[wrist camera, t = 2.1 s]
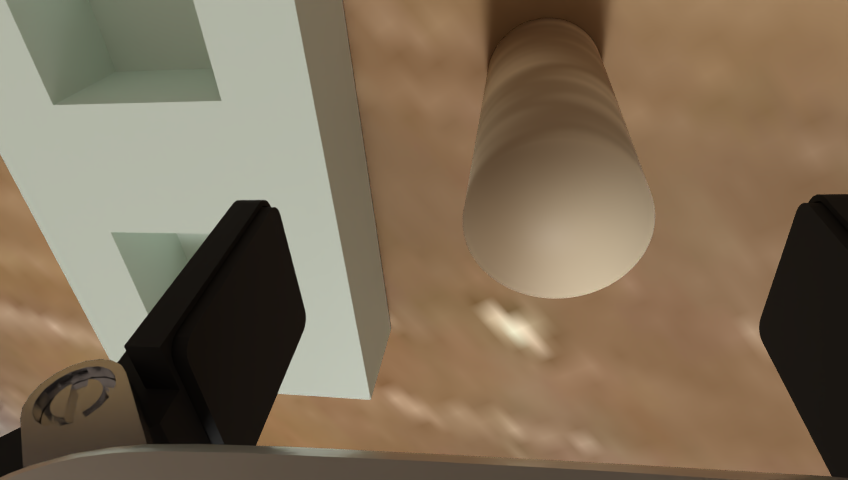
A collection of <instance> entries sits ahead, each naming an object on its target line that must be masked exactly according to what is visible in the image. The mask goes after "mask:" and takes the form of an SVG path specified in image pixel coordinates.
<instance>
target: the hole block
mask: <svg viewBox="0 0 848 480" xmlns="http://www.w3.org/2000/svg"><path fill="white" fill-rule="evenodd" d="M0 154H1V156H2V158H3V160H4V162H5V164H6V166H7V168H8V169H9V171H10V173H11V175H12V177H13V179H14V181H15V183H16V184H17V186H18V188H19V190H20V192H21V194H22V196H23V198H24V199H25V201H26V203H27V205H28V207H29V209H30V211H31V213H32V214H33V216H34V218H35V220H36V222H37V224H38V226H39V228H40V229H41V231H42V233H43V235H44V237H45V239H46V241H47V243H48V245H49V246H50V248H51V250H52V252H53V254H54V256H55V258H56V260H57V261H58V263H59V265H60V267H61V269H62V271H63V273H64V275H65V276H66V278H67V280H68V282H69V284H70V286H71V288H72V290H73V291H74V293H75V295H76V297H77V299H78V301H79V303H80V305H81V306H82V308H83V310H84V312H85V314H86V316H87V318H88V320H89V322H90V323H91V325H92V327H93V329H94V331H95V333H96V335H97V337H98V338H99V340H100V342H101V344H102V346H103V348H104V350H105V352H106V353H107V355H108V357H109V359H110V360H112V361H114V362H116V363H117V362H118V361H119V360H120V358H121V357H122V356H123V354H124V353H125V352H126V350H125V348H124V345H125V344H126V343H127V341H128V340H129V339H130V337H131V336H132V335H133V334H134V332H135V331H136V330H137V328H138V327H139V326H140V324H141V323H142V322H143V320H144V319H145V318H146V317H147V315H148V314H149V313H150V311H151V310H152V309H153V307H154V306H155V305H156V303H157V302H158V301H159V300H160V298H161V297H162V296H163V294H164V293H165V292H166V290H167V289H168V288H169V286H170V285H171V284H172V283H173V281H174V280H175V279H176V277H177V276H178V275H179V273H180V272H181V271H182V269H183V268H184V267H185V266H186V264H187V263H188V262H189V260H190V259H191V258H192V256H193V255H194V254H195V252H196V251H197V250H198V249H199V247H200V246H201V245H202V243H203V242H204V241H205V239H206V238H207V237H208V235H209V234H210V233H211V232H212V230H213V229H214V228H215V226H216V225H217V224H218V222H219V221H220V220H221V218H222V217H223V216H224V215H225V213H226V212H227V211H228V209H229V208H230V207H231V205H232V204H233V203H234V202H235V201H237V200H266V201H268V203H269V204H270V206H271V207H276V208H277V209H278V210H279V212H280V215H281V219H282V223H283V227H284V231H285V234H286V238H287V242H288V246H289V250H290V254H291V258H292V261H293V265H294V269H295V273H296V277H297V281H298V285H299V288H300V292H301V296H302V300H303V304H304V308H305V312H306V324H305V328H304V331H303V334H302V336H301V339H300V341H299V343H298V346H297V348H296V351H295V353H294V355H293V358H292V360H291V362H290V365H289V367H288V370H287V372H286V374H285V377H284V379H283V382H282V384H281V386H280V389H279V391H278V394H292V395H307V396H322V397H337V398H352V399H367V400H371V397H372V394H373V390H374V387H375V383H376V380H377V376H378V373H379V369H380V366H381V362H382V359H383V355H384V352H385V348H386V345H387V341H388V338H389V334H390V331H391V326H390V319H389V312H388V305H387V298H386V292H385V285H384V278H383V271H382V265H381V258H380V251H379V244H378V237H377V231H376V224H375V217H374V210H373V204H372V197H371V190H370V183H369V176H368V170H367V163H366V156H365V149H364V143H363V136H362V129H361V122H360V115H359V109H358V102H357V95H356V88H355V82H354V75H353V68H352V61H351V54H350V48H349V41H348V34H347V27H346V21H345V14H344V7H343V0H0Z"/></svg>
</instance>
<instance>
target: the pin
mask: <svg viewBox="0 0 848 480" xmlns="http://www.w3.org/2000/svg"><path fill="white" fill-rule="evenodd" d="M654 224H655V208H654V202H653V198H652V194H651V192H650V189H649V186H648V184H647V181H646V178H645V175H644V173H643V170H642V167H641V165H640V162H639V159H638V157H637V154H636V151H635V148H634V146H633V143H632V140H631V138H630V135H629V132H628V130H627V127H626V124H625V121H624V119H623V116H622V113H621V111H620V108H619V105H618V102H617V100H616V97H615V94H614V92H613V89H612V86H611V84H610V81H609V78H608V75H607V73H606V70H605V67H604V65H603V62H602V59H601V56H600V54H599V51H598V49H597V47H596V45H595V43H594V41H593V40H592V39H591V37H590V36H589V35H588V34H587V33H586V32H585V31H584V30H583V29H581V28H580V27H578V26H577V25H575V24H573V23H571V22H568V21H565V20H562V19H556V18H542V19H536V20H532V21H529V22H526V23H523V24H521V25H520V26H518V27H516V28H515V29H513V30H512V31H510V32H509V33H508V34H507V35H506V36H505V37H504V38H503V39H502V40H501V41H500V43H499V44H498V46H497V47H496V49H495V50H494V52H493V55H492V57H491V60H490V63H489V68H488V73H487V79H486V85H485V91H484V96H483V102H482V108H481V114H480V119H479V125H478V131H477V137H476V142H475V148H474V154H473V160H472V166H471V171H470V177H469V183H468V189H467V194H466V200H465V206H464V212H463V231H464V237H465V240H466V244H467V246H468V249H469V251H470V253H471V255H472V256H473V258H474V259H475V261H476V262H477V264H478V265H479V266H480V267H481V268H482V270H483V271H485V272H486V273H487V274H488V275H489V276H490V277H491V278H493V279H494V280H496V281H497V282H498V283H500V284H502V285H504V286H505V287H507V288H509V289H512V290H514V291H517V292H519V293H523V294H526V295H529V296H535V297H540V298H570V297H577V296H581V295H586V294H589V293H592V292H595V291H598V290H600V289H602V288H604V287H607V286H609V285H610V284H612V283H614V282H615V281H617V280H619V279H620V278H621V277H622V276H624V275H625V274H626V273H628V272H629V271H630V270H631V269H632V268H633V267H634V266H635V265H636V263H637V262H638V261H639V260H640V258H641V257H642V256H643V254H644V252H645V251H646V249H647V247H648V245H649V243H650V240H651V238H652V234H653V230H654Z"/></svg>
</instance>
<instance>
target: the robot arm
mask: <svg viewBox="0 0 848 480" xmlns="http://www.w3.org/2000/svg"><path fill="white" fill-rule="evenodd" d="M305 324H306V312H305V308H304V304H303V300H302V296H301V292H300V288H299V285H298V281H297V277H296V273H295V269H294V265H293V261H292V258H291V254H290V250H289V246H288V242H287V238H286V234H285V231H284V227H283V223H282V219H281V215H280V212H279V210H278V209H277V208H276V207H271V206H270V204H269V203H268V201H266V200H237V201H235V202H234V203H233V204H232V205H231V207H230V208H229V209H228V211H227V212H226V213H225V215H224V216H223V217H222V218H221V220H220V221H219V222H218V224H217V225H216V226H215V228H214V229H213V230H212V232H211V233H210V234H209V235H208V237H207V238H206V239H205V241H204V242H203V243H202V245H201V246H200V247H199V249H198V250H197V251H196V252H195V254H194V255H193V256H192V258H191V259H190V260H189V262H188V263H187V264H186V266H185V267H184V268H183V269H182V271H181V272H180V273H179V275H178V276H177V277H176V279H175V280H174V281H173V283H172V284H171V285H170V286H169V288H168V289H167V290H166V292H165V293H164V294H163V296H162V297H161V298H160V300H159V301H158V302H157V303H156V305H155V306H154V307H153V309H152V310H151V311H150V313H149V314H148V315H147V317H146V318H145V319H144V320H143V322H142V323H141V324H140V326H139V327H138V328H137V330H136V331H135V332H134V334H133V335H132V336H131V337H130V339H129V340H128V341H127V343H126V344H125V345H124V348H125V350H126V352H125V353H124V354H123V356H122V357H121V358H120V360H119V361H118V362H117V363H116V362H114V361H112V360H104V359H97V360H90V361H84V362H81V363H78V364H75V365H72V366H69V367H67V368H65V369H63V370H61V371H59V372H58V373H56V374H54V375H53V376H51V377H50V378H48V379H47V380H46V381H44V382H43V383H41V384H40V385H39V386H38V387H37V388H36V389H35V390H34V391H33V393H32V394H31V395H30V396H29V397H28V399H27V401H26V402H25V404H24V406H23V407H22V412H21V417H20V423H21V427H20V428H18V429H16V430H14V431H12V432H10V433H8V434H6V435H4V436H2V437H0V480H848V194H826V195H815V196H813V197H812V198H811V200H810V201H809V203H803V204H801V205H800V206H799V207H798V209H797V212H796V214H795V217H794V220H793V223H792V226H791V229H790V232H789V235H788V238H787V241H786V244H785V247H784V250H783V253H782V256H781V259H780V262H779V265H778V268H777V271H776V274H775V277H774V280H773V283H772V286H771V289H770V292H769V295H768V298H767V301H766V304H765V307H764V310H763V313H762V316H761V319H760V325H759V330H760V337H761V340H762V342H763V344H764V346H765V348H766V350H767V352H768V354H769V356H770V358H771V359H772V361H773V363H774V365H775V367H776V369H777V371H778V373H779V375H780V377H781V379H782V381H783V383H784V385H785V387H786V388H787V390H788V392H789V394H790V396H791V398H792V400H793V402H794V404H795V406H796V408H797V410H798V412H799V414H800V416H801V418H802V419H803V421H804V423H805V425H806V427H807V429H808V431H809V433H810V435H811V437H812V439H813V441H814V443H815V445H816V447H817V449H818V450H819V452H820V454H821V456H822V458H823V460H824V462H825V464H826V466H827V468H828V470H829V472H830V474H831V476H832V477H829V476H813V475H797V474H780V473H763V472H746V471H730V470H713V469H696V468H680V467H663V466H646V465H628V464H610V463H592V462H574V461H556V460H538V459H520V458H501V457H483V456H464V455H445V454H425V453H405V452H385V451H364V450H344V449H324V448H303V447H279V446H256V444H257V441H258V439H259V437H260V434H261V432H262V429H263V427H264V425H265V422H266V420H267V418H268V415H269V413H270V410H271V408H272V406H273V403H274V401H275V398H276V396H277V394H278V391H279V389H280V386H281V384H282V382H283V379H284V377H285V374H286V372H287V370H288V367H289V365H290V362H291V360H292V358H293V355H294V353H295V351H296V348H297V346H298V343H299V341H300V339H301V336H302V334H303V331H304V328H305Z"/></svg>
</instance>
